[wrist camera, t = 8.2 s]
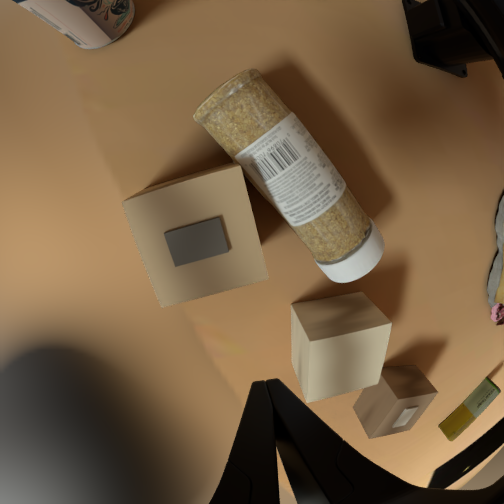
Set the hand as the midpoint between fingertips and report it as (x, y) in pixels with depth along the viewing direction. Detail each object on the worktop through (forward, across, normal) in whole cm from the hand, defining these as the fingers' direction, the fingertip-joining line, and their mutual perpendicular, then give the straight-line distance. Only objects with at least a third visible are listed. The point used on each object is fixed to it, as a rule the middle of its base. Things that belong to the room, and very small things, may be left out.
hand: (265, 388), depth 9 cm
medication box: (+12, -36, +31) cm, 49 cm away
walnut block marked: (+12, -15, +17) cm, 26 cm away
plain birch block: (+12, -7, +7) cm, 16 cm away
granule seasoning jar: (+10, 0, -11) cm, 15 cm away
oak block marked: (+12, +2, -3) cm, 13 cm away
